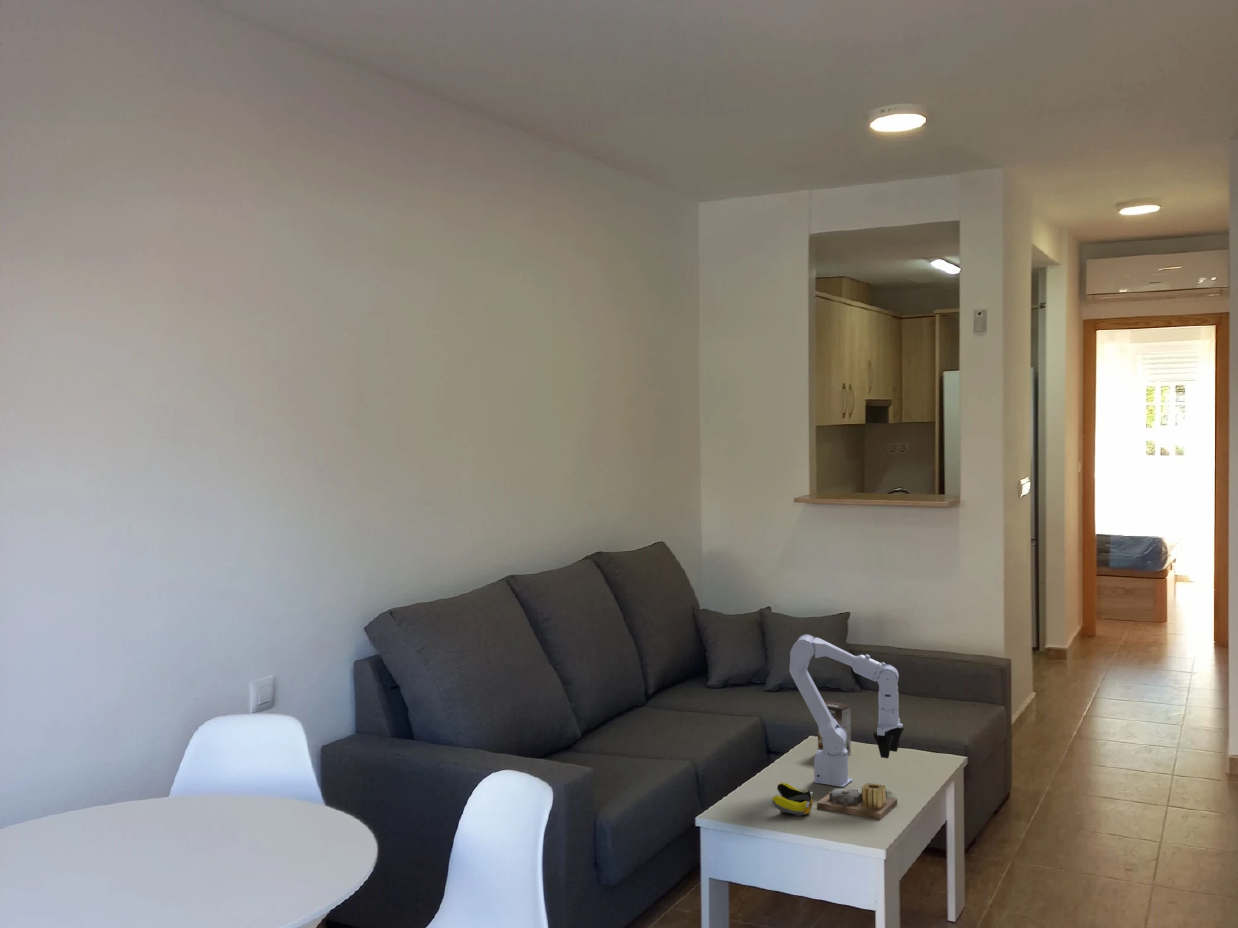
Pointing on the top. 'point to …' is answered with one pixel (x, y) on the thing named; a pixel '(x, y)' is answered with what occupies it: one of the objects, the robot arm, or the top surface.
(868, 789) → the wooden gear
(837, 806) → the gear board
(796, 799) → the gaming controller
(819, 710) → the robot arm
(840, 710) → the coffee box
